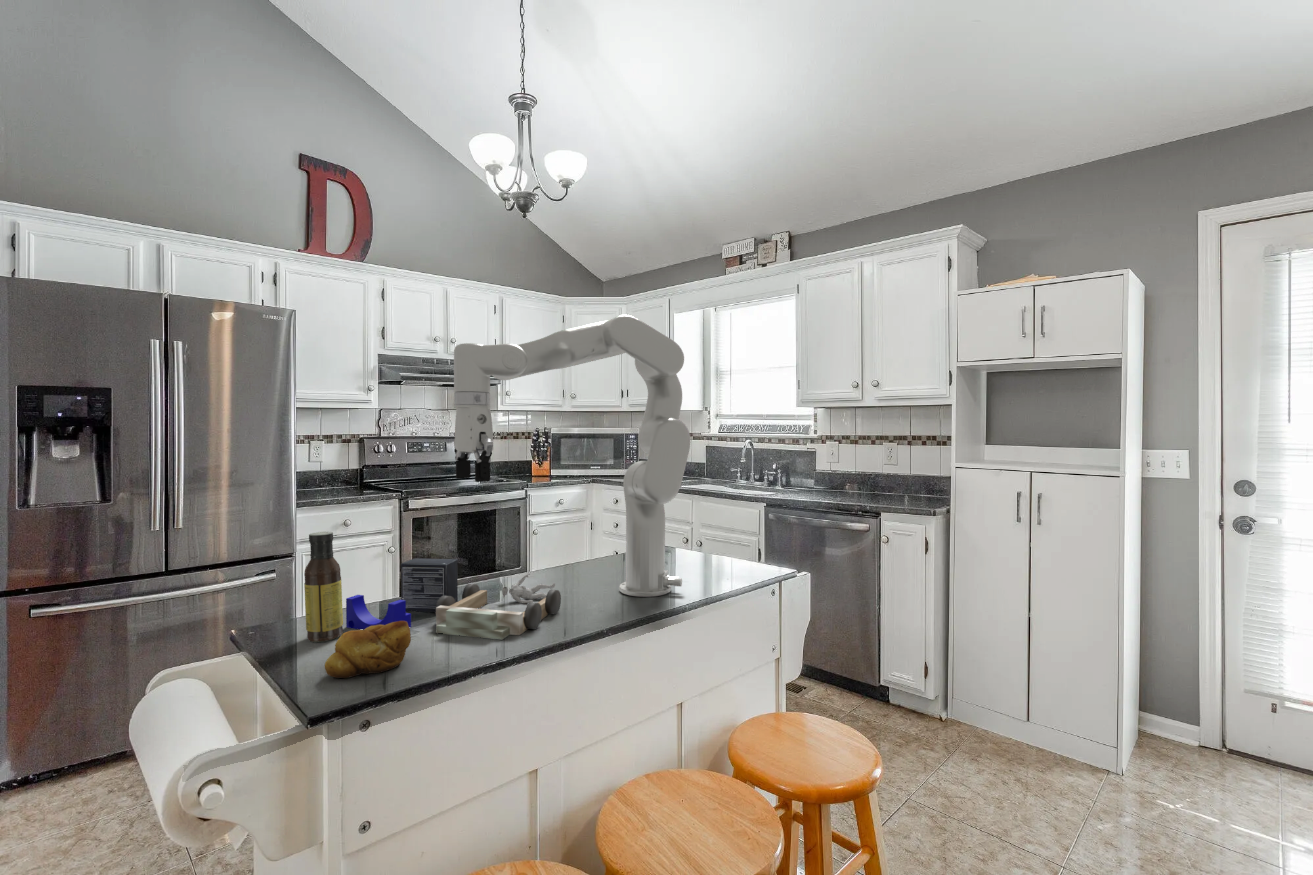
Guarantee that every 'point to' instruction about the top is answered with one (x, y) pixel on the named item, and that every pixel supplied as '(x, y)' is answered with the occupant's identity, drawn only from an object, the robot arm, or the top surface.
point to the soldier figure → (526, 591)
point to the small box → (428, 582)
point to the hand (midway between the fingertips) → (472, 479)
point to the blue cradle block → (362, 618)
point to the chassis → (489, 615)
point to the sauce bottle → (323, 590)
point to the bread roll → (369, 650)
